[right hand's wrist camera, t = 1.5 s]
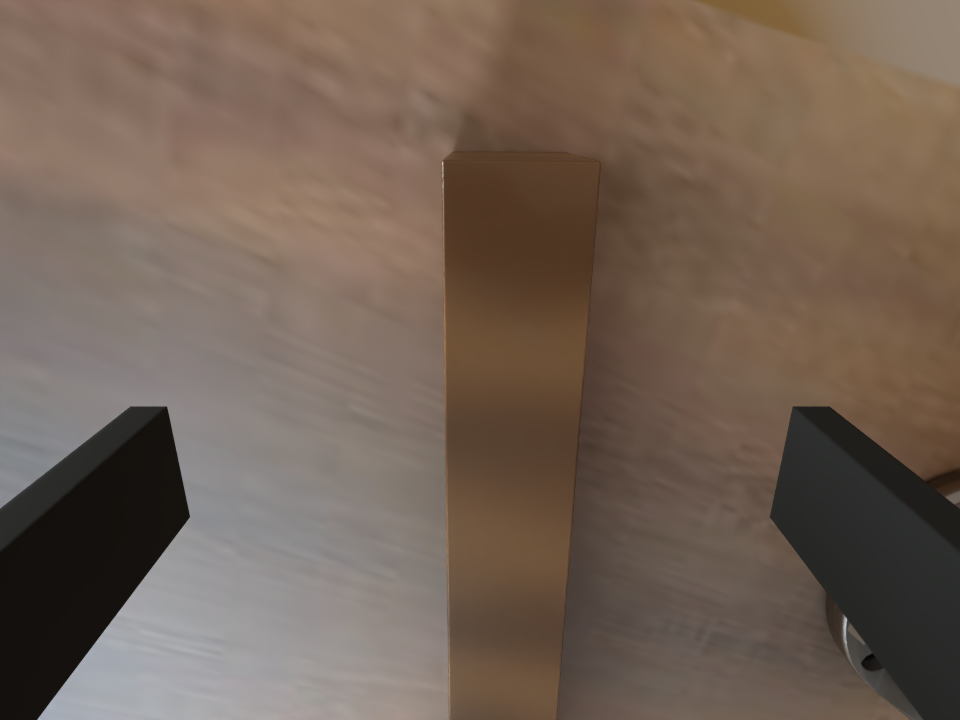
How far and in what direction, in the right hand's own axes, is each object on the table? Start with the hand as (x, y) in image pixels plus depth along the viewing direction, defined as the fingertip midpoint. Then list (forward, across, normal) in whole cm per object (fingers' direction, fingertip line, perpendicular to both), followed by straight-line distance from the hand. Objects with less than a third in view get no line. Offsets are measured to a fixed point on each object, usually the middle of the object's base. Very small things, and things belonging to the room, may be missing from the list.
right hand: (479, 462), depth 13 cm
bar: (+15, +1, -30) cm, 34 cm away
